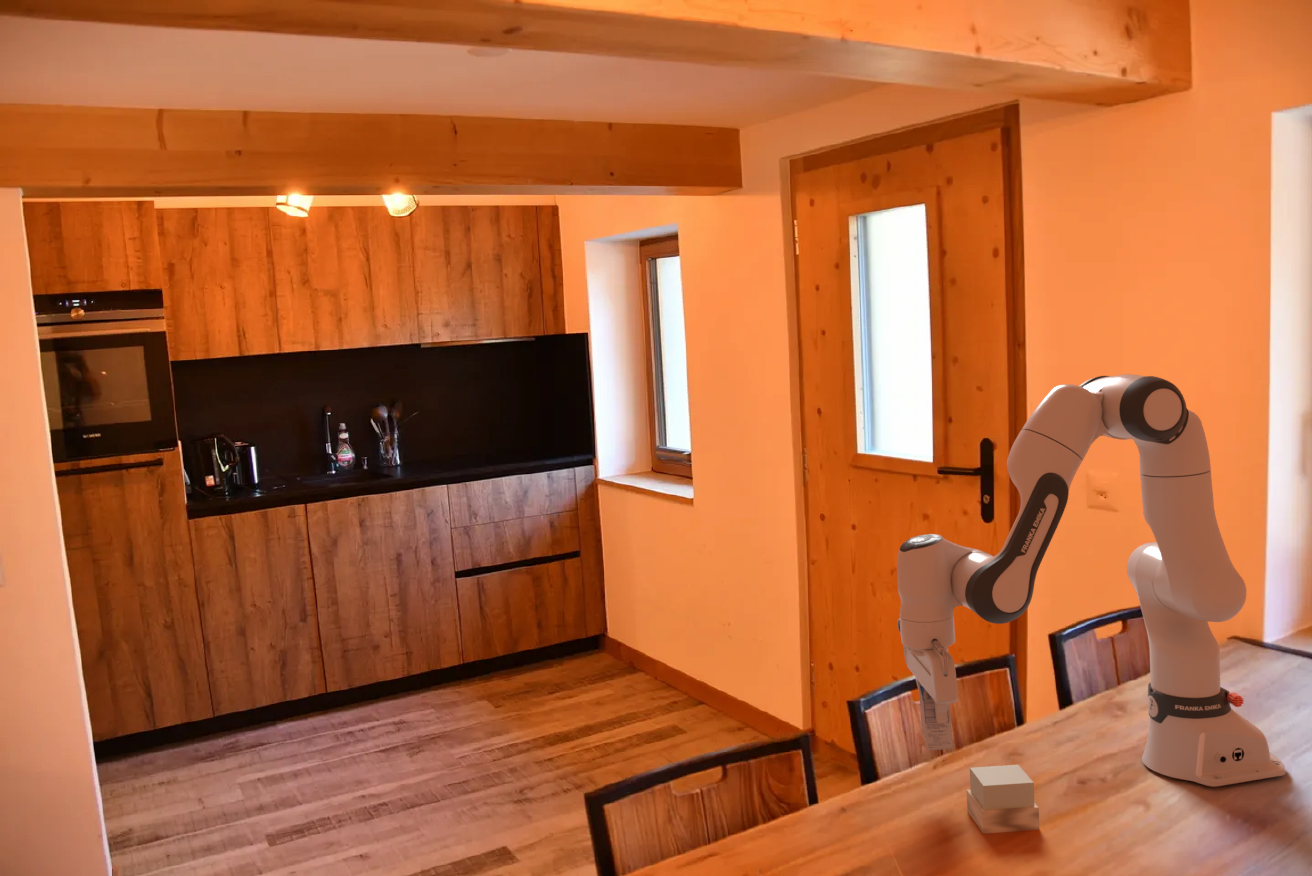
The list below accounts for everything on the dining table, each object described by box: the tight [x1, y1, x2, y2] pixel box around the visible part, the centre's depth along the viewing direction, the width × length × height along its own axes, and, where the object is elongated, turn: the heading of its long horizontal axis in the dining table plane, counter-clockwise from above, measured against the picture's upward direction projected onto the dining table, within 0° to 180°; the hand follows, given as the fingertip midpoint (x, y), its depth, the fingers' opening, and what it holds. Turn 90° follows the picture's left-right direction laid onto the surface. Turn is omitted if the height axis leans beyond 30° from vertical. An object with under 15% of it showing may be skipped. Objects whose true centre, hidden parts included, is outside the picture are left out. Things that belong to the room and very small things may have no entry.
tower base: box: [966, 789, 1040, 834], centre depth 171 cm, size 9×8×4 cm
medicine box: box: [918, 686, 954, 751], centre depth 178 cm, size 8×4×9 cm, turn 171°
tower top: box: [969, 764, 1035, 810], centre depth 170 cm, size 8×7×4 cm
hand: (933, 711), depth 178 cm, fingers closed on medicine box, 8 cm apart
